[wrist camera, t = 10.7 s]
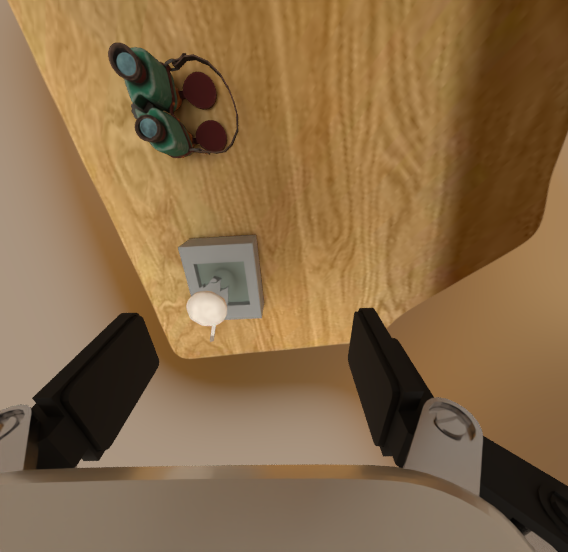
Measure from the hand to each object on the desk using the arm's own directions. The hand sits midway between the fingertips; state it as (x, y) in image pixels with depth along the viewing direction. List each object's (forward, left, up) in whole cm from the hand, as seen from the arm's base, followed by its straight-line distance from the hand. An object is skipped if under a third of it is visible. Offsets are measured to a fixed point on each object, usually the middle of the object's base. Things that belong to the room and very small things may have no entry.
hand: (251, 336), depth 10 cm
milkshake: (+8, -8, -22) cm, 25 cm away
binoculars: (-13, -8, -26) cm, 30 cm away
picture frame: (+8, -8, -25) cm, 28 cm away
